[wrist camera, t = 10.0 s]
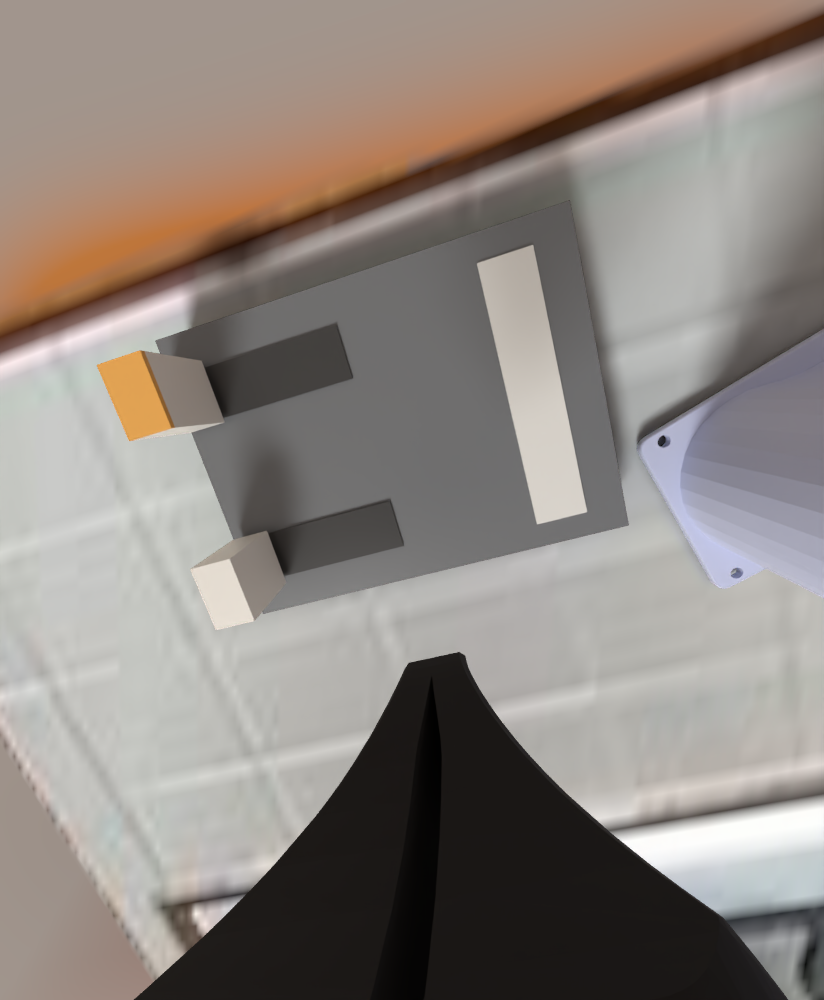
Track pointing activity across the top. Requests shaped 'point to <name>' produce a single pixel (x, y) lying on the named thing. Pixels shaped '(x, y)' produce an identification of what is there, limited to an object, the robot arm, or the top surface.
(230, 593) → the handle
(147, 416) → the breaker handle
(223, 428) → the box
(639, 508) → the top surface
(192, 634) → the top surface
